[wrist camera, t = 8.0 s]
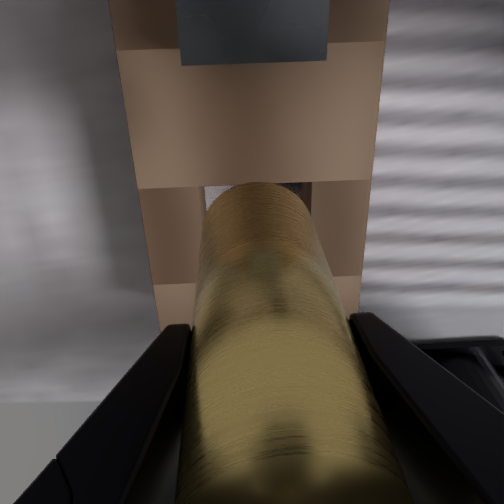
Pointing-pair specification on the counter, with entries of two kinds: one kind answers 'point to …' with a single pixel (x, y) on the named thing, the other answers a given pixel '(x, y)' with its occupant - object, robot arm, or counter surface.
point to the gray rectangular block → (252, 31)
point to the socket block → (249, 137)
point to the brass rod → (276, 369)
